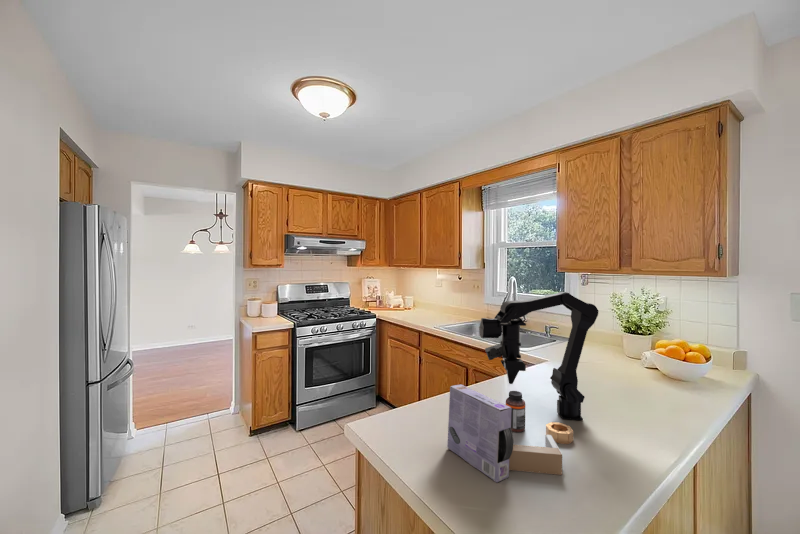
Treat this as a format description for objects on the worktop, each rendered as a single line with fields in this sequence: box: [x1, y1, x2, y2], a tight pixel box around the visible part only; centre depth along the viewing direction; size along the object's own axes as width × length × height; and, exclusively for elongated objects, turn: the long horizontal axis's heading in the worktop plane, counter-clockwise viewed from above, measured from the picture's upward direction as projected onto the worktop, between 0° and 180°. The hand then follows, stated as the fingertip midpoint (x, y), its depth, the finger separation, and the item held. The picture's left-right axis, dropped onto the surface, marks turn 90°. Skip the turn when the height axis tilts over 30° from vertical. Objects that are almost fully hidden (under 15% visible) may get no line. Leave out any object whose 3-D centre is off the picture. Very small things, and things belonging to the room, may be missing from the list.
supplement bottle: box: [505, 390, 526, 433], centre depth 107 cm, size 6×6×11 cm
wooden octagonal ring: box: [545, 421, 574, 445], centre depth 101 cm, size 7×7×3 cm
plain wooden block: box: [509, 434, 563, 476], centre depth 90 cm, size 16×13×5 cm
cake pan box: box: [446, 384, 514, 484], centre depth 88 cm, size 19×5×18 cm, turn 33°
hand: (510, 383), depth 116 cm, fingers closed
